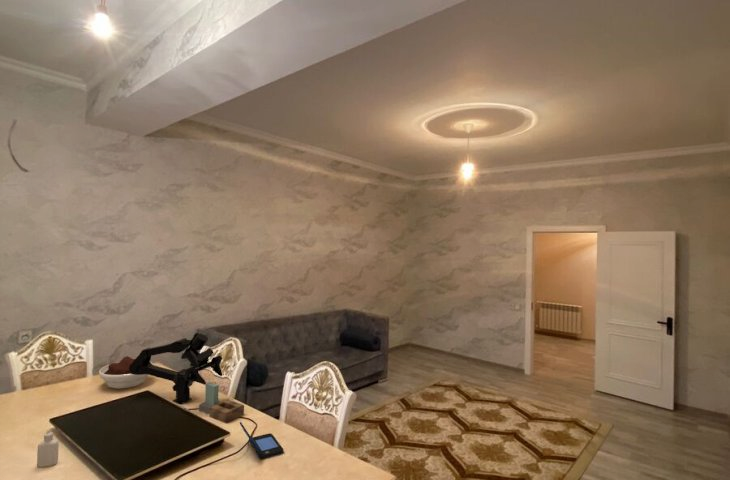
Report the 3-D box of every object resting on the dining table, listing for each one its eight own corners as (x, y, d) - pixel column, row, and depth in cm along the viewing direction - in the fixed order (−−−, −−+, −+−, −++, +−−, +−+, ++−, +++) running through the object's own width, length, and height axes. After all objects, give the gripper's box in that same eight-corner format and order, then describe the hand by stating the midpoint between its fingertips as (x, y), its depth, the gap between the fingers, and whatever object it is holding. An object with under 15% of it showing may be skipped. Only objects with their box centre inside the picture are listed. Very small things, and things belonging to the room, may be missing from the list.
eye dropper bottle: (47, 459, 136) (48, 425, 136) (60, 462, 135) (61, 428, 135) (34, 466, 132) (35, 431, 132) (47, 469, 131) (48, 434, 131)
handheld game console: (284, 454, 145) (285, 429, 145) (249, 464, 138) (249, 438, 138) (271, 435, 158) (271, 413, 159) (238, 443, 151) (239, 420, 151)
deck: (199, 410, 178) (199, 404, 178) (211, 405, 184) (212, 399, 184) (210, 415, 174) (210, 408, 174) (223, 409, 180) (223, 403, 180)
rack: (209, 416, 172) (209, 406, 172) (227, 408, 181) (227, 399, 181) (226, 423, 167) (226, 413, 167) (243, 414, 176) (244, 404, 176)
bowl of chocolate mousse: (90, 386, 203) (91, 357, 203) (139, 373, 223) (140, 347, 223) (110, 398, 188) (111, 367, 188) (161, 383, 209) (162, 356, 209)
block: (205, 403, 180) (205, 383, 180) (209, 401, 182) (210, 382, 182) (213, 406, 177) (214, 386, 177) (218, 404, 179) (218, 385, 179)
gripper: (181, 352, 176) (201, 375, 170) (215, 339, 192) (235, 360, 186) (175, 369, 180) (194, 392, 174) (209, 355, 196) (228, 376, 190)
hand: (213, 379), depth 181 cm, fingers open, 9 cm apart
